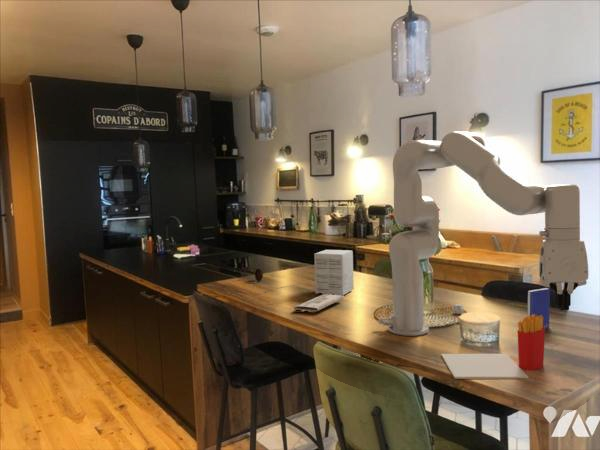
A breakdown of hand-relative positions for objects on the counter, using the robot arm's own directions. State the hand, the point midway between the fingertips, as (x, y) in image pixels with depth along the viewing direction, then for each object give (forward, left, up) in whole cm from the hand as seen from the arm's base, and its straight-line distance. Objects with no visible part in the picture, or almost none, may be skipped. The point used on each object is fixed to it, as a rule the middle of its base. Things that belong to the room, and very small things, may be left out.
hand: (562, 308), depth 124 cm
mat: (-19, 0, -15) cm, 24 cm away
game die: (-13, +52, -15) cm, 56 cm away
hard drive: (+7, +32, -15) cm, 36 cm away
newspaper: (-64, +65, -15) cm, 93 cm away
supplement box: (-57, +90, -15) cm, 108 cm away
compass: (-96, +109, -15) cm, 146 cm away
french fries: (-8, 0, -15) cm, 17 cm away
